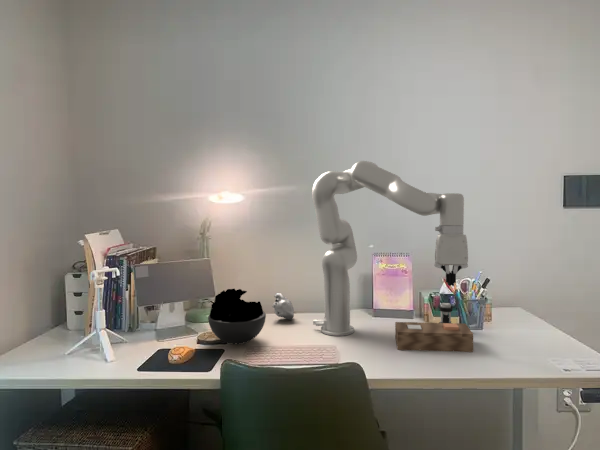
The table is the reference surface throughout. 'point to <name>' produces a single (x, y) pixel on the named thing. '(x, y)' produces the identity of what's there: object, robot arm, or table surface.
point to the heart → (283, 307)
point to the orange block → (450, 326)
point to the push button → (445, 312)
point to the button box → (433, 337)
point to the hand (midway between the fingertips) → (450, 284)
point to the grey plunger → (414, 327)
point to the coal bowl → (235, 317)
